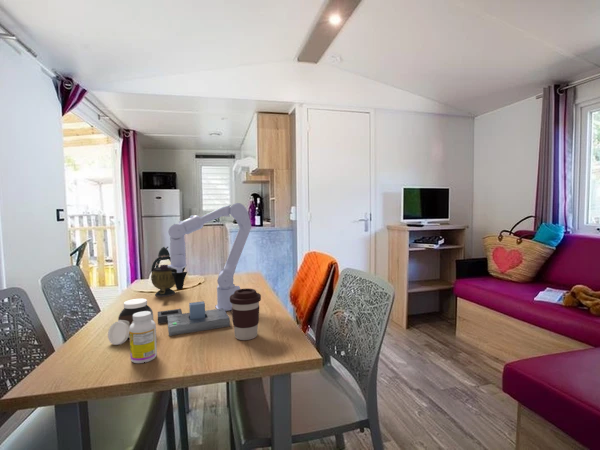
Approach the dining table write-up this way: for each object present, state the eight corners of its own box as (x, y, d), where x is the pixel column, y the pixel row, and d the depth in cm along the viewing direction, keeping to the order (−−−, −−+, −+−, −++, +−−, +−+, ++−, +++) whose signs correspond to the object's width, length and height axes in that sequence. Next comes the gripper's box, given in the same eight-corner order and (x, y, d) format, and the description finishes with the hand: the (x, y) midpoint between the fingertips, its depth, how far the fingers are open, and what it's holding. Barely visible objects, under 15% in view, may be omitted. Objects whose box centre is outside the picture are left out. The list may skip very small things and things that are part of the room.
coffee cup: (266, 332, 109) (265, 288, 108) (252, 344, 99) (251, 296, 98) (240, 328, 112) (239, 286, 111) (224, 340, 103) (223, 293, 102)
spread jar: (156, 330, 111) (155, 297, 110) (146, 344, 100) (145, 307, 99) (118, 333, 109) (116, 299, 108) (104, 347, 98) (102, 309, 97)
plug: (204, 322, 118) (203, 301, 118) (205, 325, 115) (204, 303, 115) (189, 324, 116) (189, 303, 116) (190, 327, 113) (190, 305, 113)
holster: (181, 314, 127) (181, 308, 127) (182, 320, 121) (182, 313, 121) (157, 318, 123) (157, 311, 123) (157, 323, 118) (157, 316, 117)
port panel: (223, 315, 125) (223, 307, 125) (229, 326, 114) (229, 317, 114) (167, 323, 117) (167, 314, 117) (168, 336, 106) (168, 326, 106)
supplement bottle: (136, 353, 94) (134, 310, 93) (160, 352, 94) (158, 309, 93) (126, 365, 87) (124, 318, 86) (151, 363, 88) (149, 317, 87)
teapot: (179, 288, 167) (177, 244, 166) (177, 302, 144) (175, 250, 142) (153, 290, 164) (152, 245, 162) (147, 305, 140) (145, 251, 139)
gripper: (166, 252, 135) (167, 284, 135) (167, 257, 121) (169, 292, 122) (184, 251, 138) (185, 282, 138) (187, 255, 124) (188, 290, 125)
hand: (179, 287), depth 130 cm, fingers open, 7 cm apart
